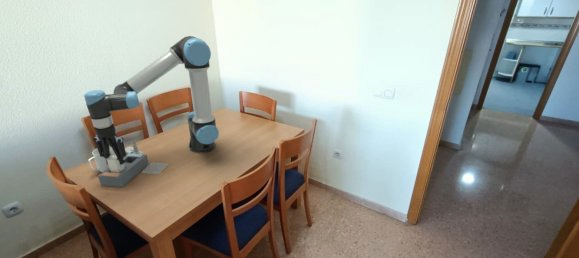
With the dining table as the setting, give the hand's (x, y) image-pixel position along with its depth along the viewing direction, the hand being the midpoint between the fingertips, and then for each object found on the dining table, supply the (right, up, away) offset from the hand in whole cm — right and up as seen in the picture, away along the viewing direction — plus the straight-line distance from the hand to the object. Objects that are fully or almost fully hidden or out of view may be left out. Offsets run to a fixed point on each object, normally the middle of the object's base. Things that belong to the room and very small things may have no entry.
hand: (117, 169), depth 129 cm
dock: (0, -4, +7) cm, 8 cm away
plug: (0, -5, +2) cm, 6 cm away
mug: (-13, -2, +10) cm, 17 cm away
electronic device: (-7, +4, +25) cm, 26 cm away
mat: (+13, -2, +11) cm, 17 cm away
